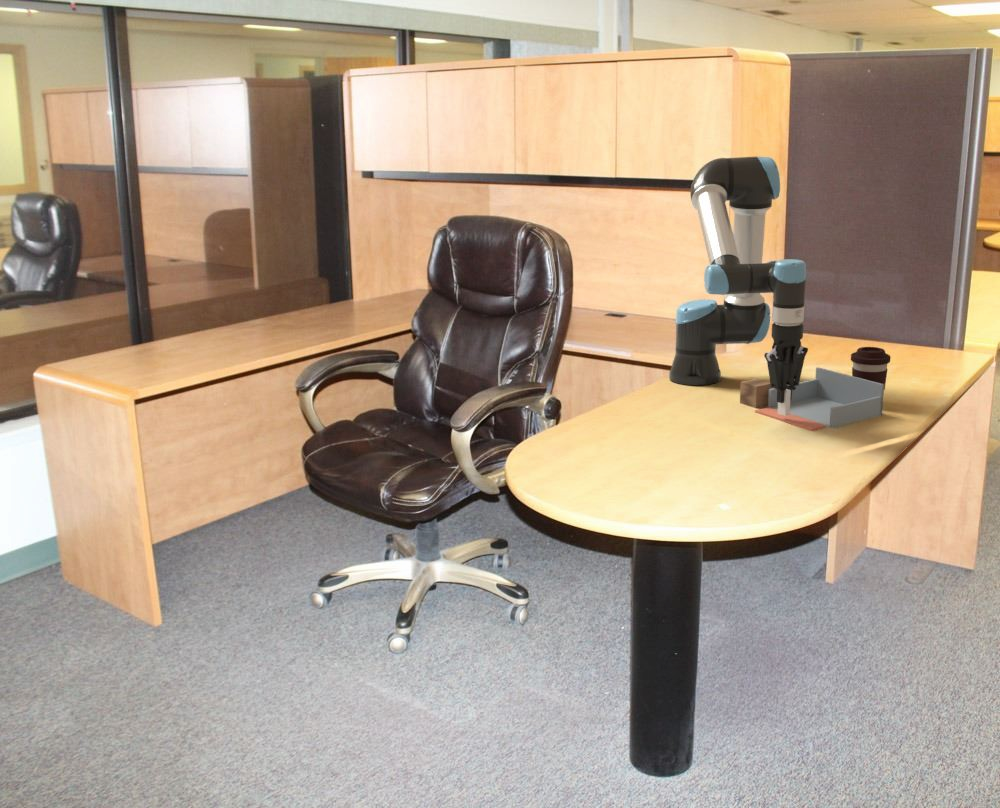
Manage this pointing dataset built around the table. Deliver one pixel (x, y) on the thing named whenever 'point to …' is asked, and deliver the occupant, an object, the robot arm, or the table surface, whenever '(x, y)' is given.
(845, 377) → the truck bed
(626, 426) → the table surface
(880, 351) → the coffee cup
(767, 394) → the walnut block
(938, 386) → the table surface
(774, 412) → the panel
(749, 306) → the robot arm
